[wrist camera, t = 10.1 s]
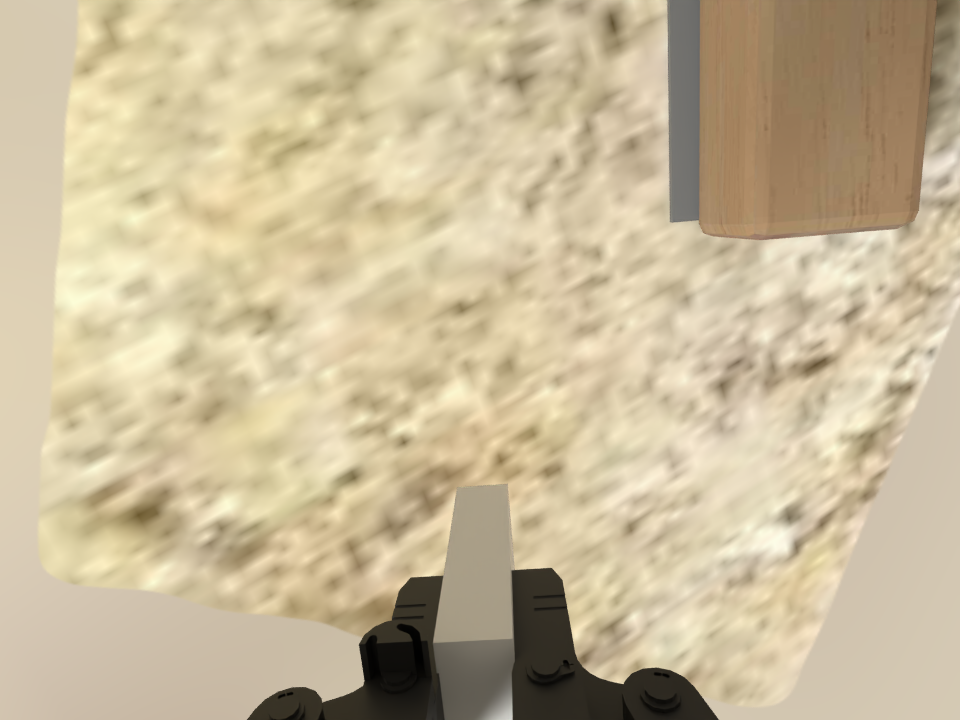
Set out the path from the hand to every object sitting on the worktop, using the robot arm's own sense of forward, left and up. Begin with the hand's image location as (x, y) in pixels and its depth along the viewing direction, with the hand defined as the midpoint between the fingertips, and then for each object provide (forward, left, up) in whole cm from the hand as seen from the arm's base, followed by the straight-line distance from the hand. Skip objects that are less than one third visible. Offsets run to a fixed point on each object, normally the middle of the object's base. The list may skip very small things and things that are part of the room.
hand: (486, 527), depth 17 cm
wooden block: (-6, +21, -25) cm, 33 cm away
